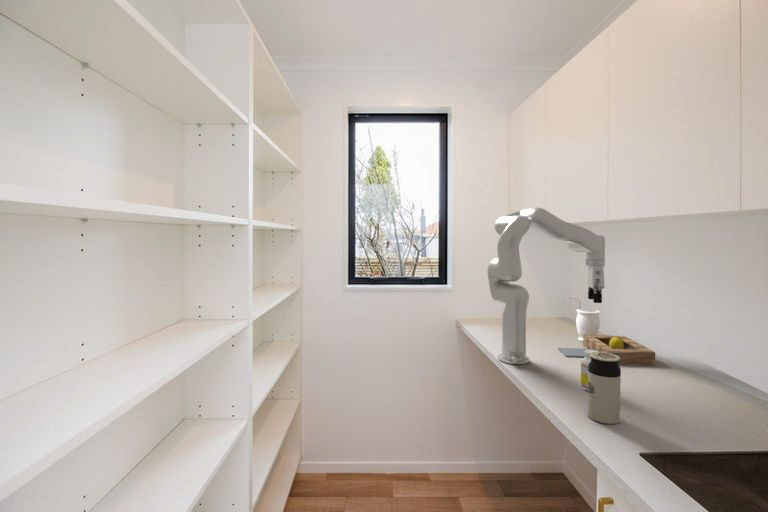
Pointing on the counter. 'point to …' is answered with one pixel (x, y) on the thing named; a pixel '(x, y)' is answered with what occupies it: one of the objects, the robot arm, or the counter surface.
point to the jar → (587, 322)
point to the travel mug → (604, 388)
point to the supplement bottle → (585, 368)
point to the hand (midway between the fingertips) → (594, 300)
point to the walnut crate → (628, 355)
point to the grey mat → (572, 352)
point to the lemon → (616, 343)
